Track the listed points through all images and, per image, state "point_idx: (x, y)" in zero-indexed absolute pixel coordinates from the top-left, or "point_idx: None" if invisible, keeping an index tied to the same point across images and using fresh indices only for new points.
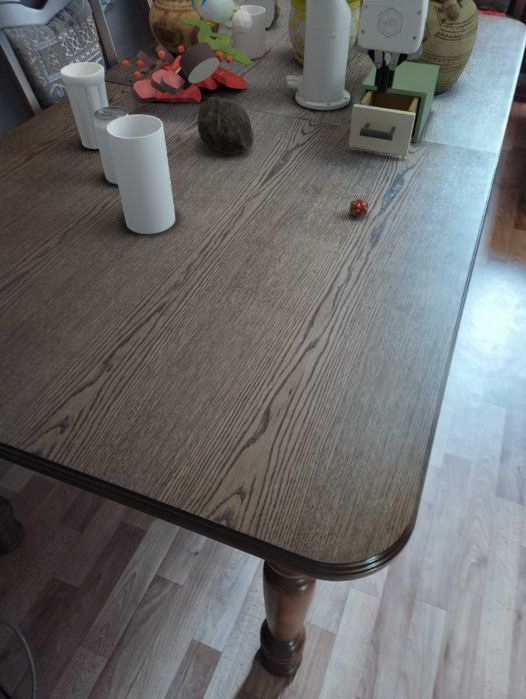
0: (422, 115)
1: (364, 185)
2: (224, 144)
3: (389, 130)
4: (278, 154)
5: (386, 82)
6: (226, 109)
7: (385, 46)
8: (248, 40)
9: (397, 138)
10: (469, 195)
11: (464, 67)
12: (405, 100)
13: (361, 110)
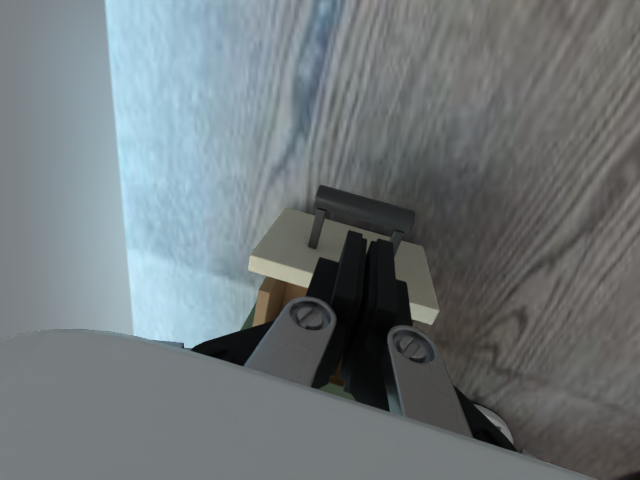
0: (246, 320)
1: (396, 57)
2: None
3: (324, 245)
4: (625, 214)
5: (345, 256)
6: None
7: (400, 460)
8: None
9: (304, 231)
10: (138, 47)
11: None
12: None
13: (410, 295)
